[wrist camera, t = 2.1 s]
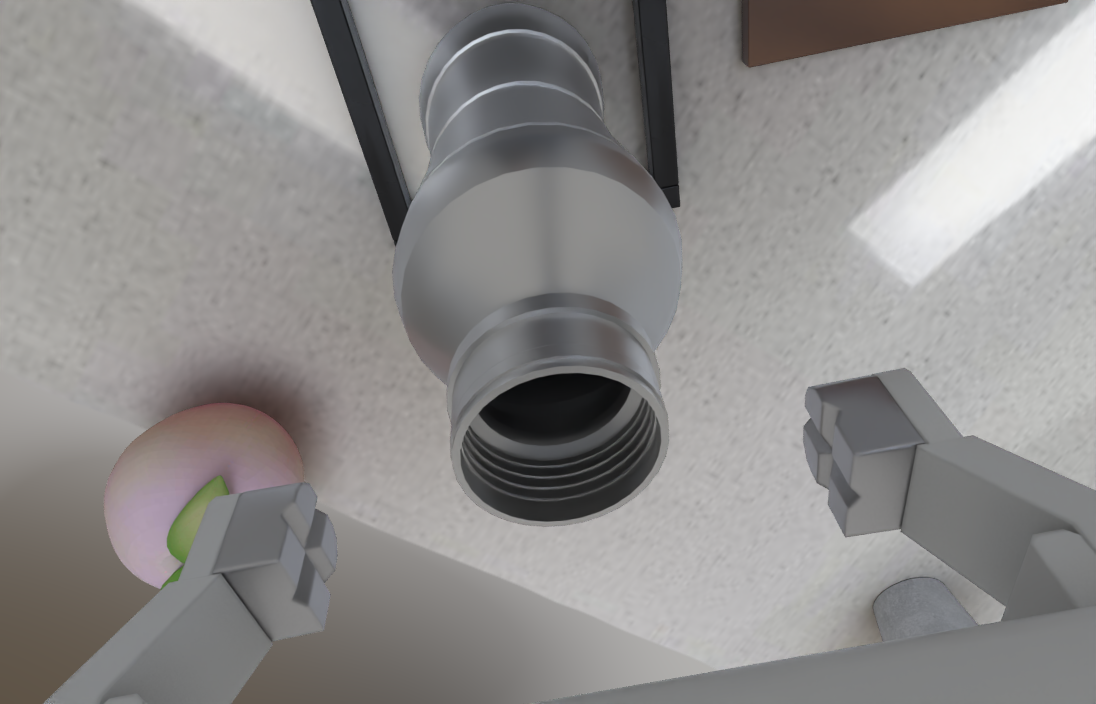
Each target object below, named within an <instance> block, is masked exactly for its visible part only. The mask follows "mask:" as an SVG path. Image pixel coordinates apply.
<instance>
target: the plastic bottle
mask: <svg viewBox="0 0 1096 704" xmlns="http://www.w3.org/2000/svg"><path fill="white" fill-rule="evenodd" d="M419 104H420V118H421V122H422V127H423V131H424V135H425V139H426V143H427V146H428V148H429V151H430V154H431V159H430V163H429V167H428V171H427V173H426V175H425V177H424V179H423V181H422V183H421V185H420V187H419V189H418V191H417V193H416V195H415V197H414V199H413V201H412V202H411V204H410V207H409V210H408V212H407V215H406V218H405V220H404V223H403V225H402V228H401V232H400V235H399V239H398V242H397V244H396V249H395V256H394V263H393V270H392V275H393V287H394V298H395V301H396V304H397V307H398V310H399V314H400V317H401V320H402V323H403V325H404V328H405V330H406V333H407V335H408V338H409V340H410V342H411V344H412V345H413V347H414V349H415V350H416V352H417V354H418V356H419V357H420V359H421V361H422V362H423V363H424V364H425V365H426V366H427V367H428V368H429V369H430V370H431V371H432V373H433V374H434V375H435V376H436V377H437V378H438V379H439V380H441V381H442V382H443V383H444V384H445V385H447V412H448V415H449V418H450V422H451V436H450V452H451V460H452V464H453V469H454V472H455V476H456V479H457V481H458V483H459V485H460V486H461V488H462V489H463V491H464V492H465V494H466V495H467V496H468V497H469V498H470V499H471V500H472V501H473V502H474V503H475V504H476V505H477V506H479V507H480V508H482V509H484V510H485V511H487V512H488V513H490V514H492V515H494V516H497V517H499V518H501V519H504V520H506V521H510V522H514V523H518V524H523V525H530V526H542V527H549V526H565V525H571V524H576V523H581V522H585V521H589V520H592V519H595V518H598V517H601V516H603V515H605V514H608V513H610V512H612V511H614V510H616V509H618V508H620V507H621V506H623V505H624V504H626V503H627V502H629V501H630V500H632V499H633V498H635V497H636V496H637V495H638V494H639V493H640V492H641V491H643V490H644V489H645V488H646V487H647V486H648V485H649V484H650V482H651V481H652V480H653V478H654V477H655V476H656V474H657V473H658V472H659V470H660V468H661V466H662V463H663V461H664V459H665V457H666V454H667V449H668V444H669V425H668V414H667V411H666V408H665V405H664V401H663V398H662V395H661V392H660V387H661V382H660V369H659V365H658V362H657V359H656V356H655V353H654V351H655V350H656V348H657V347H658V345H659V344H660V342H661V341H662V339H663V338H664V336H665V335H666V333H667V332H668V329H669V327H670V325H671V322H672V320H673V317H674V315H675V313H676V310H677V305H678V300H679V294H680V289H681V279H682V239H681V235H680V231H679V227H678V223H677V220H676V216H675V214H674V212H673V210H672V208H671V206H670V204H669V202H668V200H667V199H666V197H665V195H664V193H663V191H662V190H661V189H660V187H659V186H658V185H657V183H656V182H655V180H654V179H653V178H652V176H651V175H650V174H649V173H648V172H647V171H646V169H645V168H644V167H643V166H642V165H641V164H640V163H639V162H638V160H637V159H636V158H635V157H634V156H632V155H631V154H630V153H629V152H628V151H627V150H626V149H625V148H624V147H623V146H622V145H621V144H620V143H619V142H618V141H617V140H616V139H615V138H614V137H612V135H611V134H610V132H609V130H608V129H607V127H606V126H605V124H604V119H603V117H604V99H603V88H602V78H601V74H600V71H599V67H598V64H597V61H596V58H595V57H594V55H593V53H592V51H591V49H590V47H589V45H588V43H587V42H586V41H585V40H584V39H583V37H582V36H581V35H580V34H579V33H578V31H577V30H576V29H575V28H574V27H572V26H571V25H570V24H569V23H567V22H566V21H565V20H563V19H562V18H561V17H559V16H557V15H555V14H553V13H551V12H549V11H547V10H544V9H542V8H538V7H534V6H530V5H526V4H521V3H503V4H498V5H494V6H489V7H486V8H483V9H481V10H479V11H477V12H475V13H472V14H470V15H469V16H468V17H466V18H465V19H463V20H462V21H461V22H459V23H458V24H457V25H455V26H454V27H453V28H452V29H451V30H450V31H449V32H448V33H447V34H446V35H445V36H444V37H443V39H442V40H441V41H440V42H439V43H438V45H437V46H436V48H435V50H434V51H433V53H432V55H431V56H430V58H429V60H428V62H427V65H426V68H425V71H424V74H423V77H422V81H421V88H420V95H419Z"/></svg>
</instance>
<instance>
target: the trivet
mask: <svg viewBox="0 0 1096 704" xmlns="http://www.w3.org/2000/svg"><path fill="white" fill-rule="evenodd" d="M1067 2H1068V0H742V53H743V63H744V64H746V65H747V66H748V67H754V66H759V65H764V64H769V63H774V62H778V61H783V60H788V59H793V58H798V57H803V56H808V55H813V54H818V53H822V52H827V51H832V50H837V49H842V48H847V47H852V46H857V45H862V44H866V43H871V42H876V41H881V40H886V39H891V38H896V37H901V36H906V35H911V34H915V33H920V32H925V31H930V30H935V29H940V28H945V27H950V26H955V25H959V24H964V23H969V22H974V21H979V20H984V19H989V18H994V17H999V16H1003V15H1008V14H1013V13H1018V12H1023V11H1028V10H1033V9H1038V8H1043V7H1048V6H1052V5H1057V4H1062V3H1067Z"/></svg>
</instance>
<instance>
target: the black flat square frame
mask: <svg viewBox="0 0 1096 704" xmlns="http://www.w3.org/2000/svg"><path fill="white" fill-rule="evenodd" d="M310 1H311V4H312V7H313V9H314V12H315V15H316V18H317V21H318V24H319V27H320V30H321V33H322V35H323V38H324V41H325V44H326V47H327V50H328V53H329V56H330V59H331V61H332V64H333V67H334V70H335V73H336V76H337V79H338V82H339V85H340V87H341V90H342V93H343V96H344V99H345V102H346V105H347V108H348V111H349V113H350V116H351V119H352V122H353V125H354V128H355V131H356V134H357V137H358V139H359V142H360V145H361V148H362V151H363V154H364V157H365V160H366V163H367V165H368V168H369V171H370V174H371V177H372V180H373V183H374V186H375V189H376V191H377V194H378V197H379V200H380V203H381V206H382V209H383V212H384V215H385V217H386V220H387V223H388V226H389V229H390V232H391V235H392V238H393V240H394V244H395V247H396V244H397V242H398V239H399V235H400V232H401V228H402V225H403V223H404V220H405V218H406V215H407V212H408V210H409V207H410V204H411V199H410V196H409V193H408V190H407V187H406V184H405V180H404V177H403V174H402V171H401V168H400V165H399V161H398V158H397V155H396V152H395V149H394V146H393V143H392V139H391V136H390V133H389V130H388V127H387V124H386V121H385V117H384V114H383V111H382V108H381V105H380V102H379V98H378V95H377V92H376V89H375V86H374V83H373V80H372V76H371V73H370V70H369V67H368V64H367V61H366V58H365V54H364V51H363V48H362V45H361V42H360V39H359V35H358V32H357V29H356V26H355V23H354V20H353V17H352V13H351V10H350V7H349V4H348V1H347V0H310ZM633 9H634V20H635V30H636V41H637V51H638V62H639V72H640V83H641V93H642V104H643V115H644V125H645V136H646V146H647V157H648V167H649V174H650V175H651V176H652V178H653V179H654V180H655V182H656V183H657V185H658V186H659V187H660V189H661V190H662V191H663V193H664V195H665V197H666V199H667V200H668V202H669V204H670V206H671V208H676V207H680V195H679V185H678V183H679V181H678V167H677V152H676V138H675V123H674V109H673V94H672V79H671V65H670V50H669V36H668V21H667V7H666V0H633Z"/></svg>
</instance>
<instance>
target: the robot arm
mask: <svg viewBox="0 0 1096 704" xmlns="http://www.w3.org/2000/svg"><path fill="white" fill-rule="evenodd" d="M805 408H806V409H807V411H808V413H809V415H810V417H811V418H810V419H809V421H808V422H807V423H806V424H805V425H804V430H803V443H804V448H805V454H806V459H807V462H808V464H809V467H810V470H811V472H812V474H813V476H814V478H815V480H816V482H817V483H818V484H820V485H822V486H823V487H825V488H827V489H828V490H829V496H828V505H829V507H830V509H831V511H832V513H833V515H834V517H835V519H836V521H837V523H838V524H839V526H840V528H841V530H842V532H843V534H844V536H845V537H851V536H857V535H864V534H871V533H877V532H884V531H890V530H897V529H901V532H902V533H903V534H905V535H906V536H908V537H909V538H910V539H912V540H913V541H915V542H916V543H917V544H919V545H920V546H922V547H923V548H924V549H926V550H927V551H929V552H930V553H931V554H933V555H934V556H936V557H937V558H938V559H940V560H941V561H943V562H944V563H945V564H947V565H948V566H950V567H951V568H952V569H954V570H955V571H957V572H958V573H959V574H961V575H962V576H964V577H965V578H966V579H968V580H969V581H971V582H972V583H973V584H975V585H976V586H978V587H979V588H980V589H982V590H983V591H985V592H986V593H987V594H989V595H990V596H992V597H993V598H995V599H996V600H997V601H999V602H1000V603H1002V604H1003V605H1004V606H1006V609H1005V611H1004V614H1003V617H1002V620H1001V622H995V623H990V624H984V625H978V626H972V627H967V628H961V629H955V630H949V631H943V632H938V633H932V634H926V635H920V636H915V637H909V638H903V639H897V640H891V641H886V642H880V643H874V644H868V645H863V646H857V647H851V648H845V649H839V650H834V651H828V652H822V653H816V654H811V655H805V656H799V657H794V658H788V659H782V660H776V661H771V662H765V663H759V664H753V665H748V666H742V667H736V668H731V669H725V670H719V671H713V672H708V673H702V674H696V675H691V676H685V677H679V678H673V679H668V680H662V681H656V682H650V683H645V684H639V685H633V686H628V687H622V688H616V689H610V690H605V691H599V692H593V693H587V694H581V695H575V696H570V697H564V698H558V699H553V700H547V701H541V702H535V703H529V704H1096V491H1095V490H1093V489H1091V488H1089V487H1087V486H1084V485H1082V484H1080V483H1078V482H1075V481H1073V480H1071V479H1069V478H1067V477H1064V476H1062V475H1060V474H1058V473H1055V472H1053V471H1051V470H1049V469H1047V468H1044V467H1042V466H1040V465H1038V464H1035V463H1033V462H1031V461H1029V460H1027V459H1024V458H1022V457H1020V456H1018V455H1016V454H1013V453H1011V452H1009V451H1007V450H1004V449H1002V448H1000V447H998V446H996V445H993V444H991V443H989V442H987V441H984V440H982V439H980V438H978V437H976V436H973V435H972V436H966V437H963V436H962V435H961V434H960V432H959V431H958V430H957V429H956V427H955V426H954V425H953V424H952V422H951V421H950V420H949V419H948V417H947V416H946V415H945V414H944V412H943V411H942V410H941V409H940V407H939V406H938V405H937V404H936V402H935V401H934V400H933V399H932V397H931V396H930V395H929V394H928V392H927V391H926V390H925V389H924V388H923V386H922V385H921V384H920V383H919V381H918V380H917V379H916V378H915V376H914V375H913V374H912V373H911V371H909V370H907V369H905V368H901V369H896V370H891V371H886V372H881V373H876V374H872V375H871V376H870V375H867V376H862V377H857V378H852V379H847V380H842V381H837V382H831V383H826V384H821V385H816V386H811V387H808V389H807V391H806V394H805ZM316 502H317V495H316V493H315V492H314V490H313V488H312V487H311V485H310V484H309V483H305V482H300V483H294V484H288V485H282V486H276V487H270V488H263V489H257V490H251V491H245V492H244V493H237V494H231V495H224V496H218V497H215V498H214V499H213V500H212V501H211V502H209V504H208V505H207V508H206V510H205V513H204V516H203V518H202V521H201V523H200V526H199V528H198V531H197V533H196V536H195V538H194V541H193V544H192V546H191V549H190V551H189V554H188V556H187V559H186V561H185V564H184V567H183V569H182V572H181V574H180V577H179V579H178V581H175V582H170V583H168V584H167V585H166V586H165V587H164V588H163V589H162V590H161V591H160V592H159V593H158V594H157V595H156V596H155V597H153V598H152V599H151V600H150V601H149V602H148V603H147V604H146V605H145V606H144V607H143V608H142V609H141V610H140V611H139V612H138V613H137V614H136V615H135V616H134V617H133V618H132V619H131V620H130V621H129V622H127V623H126V624H125V625H124V626H123V627H122V628H121V629H120V630H119V631H118V632H117V633H116V634H115V635H114V636H113V637H112V638H111V639H110V640H109V641H108V642H107V643H106V644H105V645H104V646H102V647H101V648H100V649H99V650H98V651H97V652H96V653H95V654H94V655H93V656H92V657H91V658H90V659H89V660H88V661H87V662H86V663H85V664H84V665H83V666H82V667H81V668H80V669H79V670H77V671H76V672H75V673H74V674H73V675H72V676H71V677H70V678H69V679H68V680H67V681H66V682H65V683H64V684H63V685H62V686H61V687H60V688H59V689H58V690H57V691H56V692H55V693H53V695H51V696H50V697H49V698H48V699H47V700H46V701H45V702H44V703H43V704H231V703H232V701H233V700H234V699H235V697H236V696H237V695H238V693H239V692H240V690H241V689H242V688H243V686H244V685H245V683H246V682H247V680H248V679H249V677H250V676H251V675H252V673H253V672H254V671H255V669H256V668H257V666H258V665H259V663H260V662H261V661H262V659H263V658H264V656H265V655H266V654H267V652H268V650H269V649H270V648H271V646H272V645H273V643H272V641H277V640H281V639H286V638H291V637H296V636H301V635H306V634H311V633H315V632H320V631H324V627H325V622H326V616H327V612H328V606H329V601H330V595H331V594H330V592H329V590H328V589H327V587H326V586H325V584H324V583H325V582H326V581H327V580H328V578H329V577H330V576H331V575H332V573H333V572H334V571H335V568H336V562H337V556H338V554H337V538H336V534H335V531H334V528H333V524H332V522H331V520H330V519H329V517H328V515H327V514H325V513H323V512H321V511H319V510H317V509H315V506H316Z"/></svg>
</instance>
